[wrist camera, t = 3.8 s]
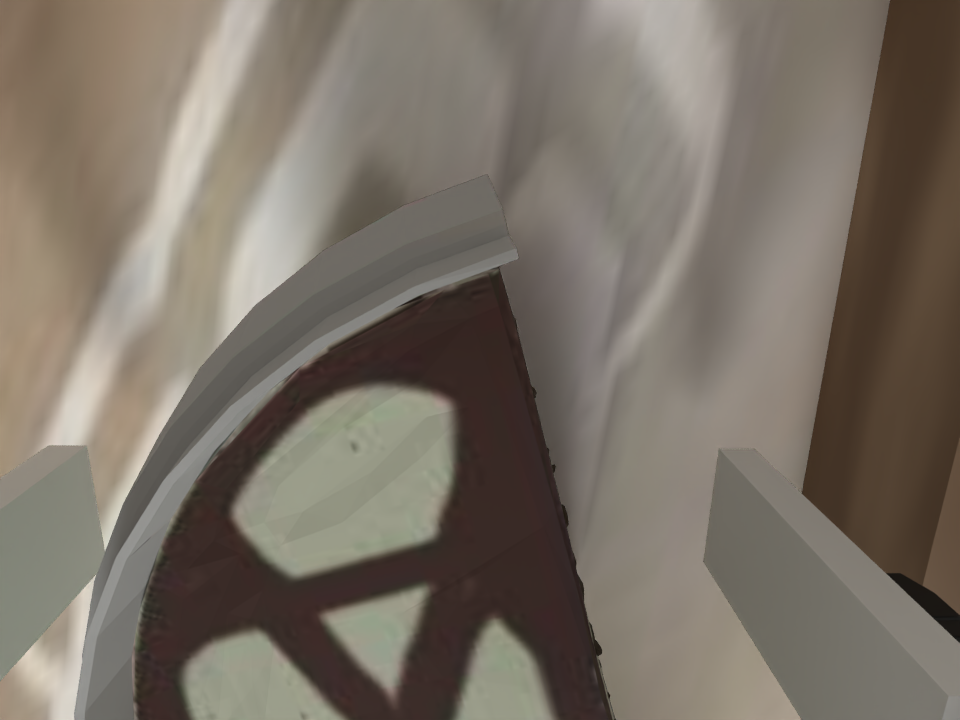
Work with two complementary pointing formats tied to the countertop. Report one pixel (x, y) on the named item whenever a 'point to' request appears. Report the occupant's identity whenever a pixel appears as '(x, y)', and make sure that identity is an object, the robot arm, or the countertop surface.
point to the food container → (353, 507)
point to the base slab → (900, 318)
